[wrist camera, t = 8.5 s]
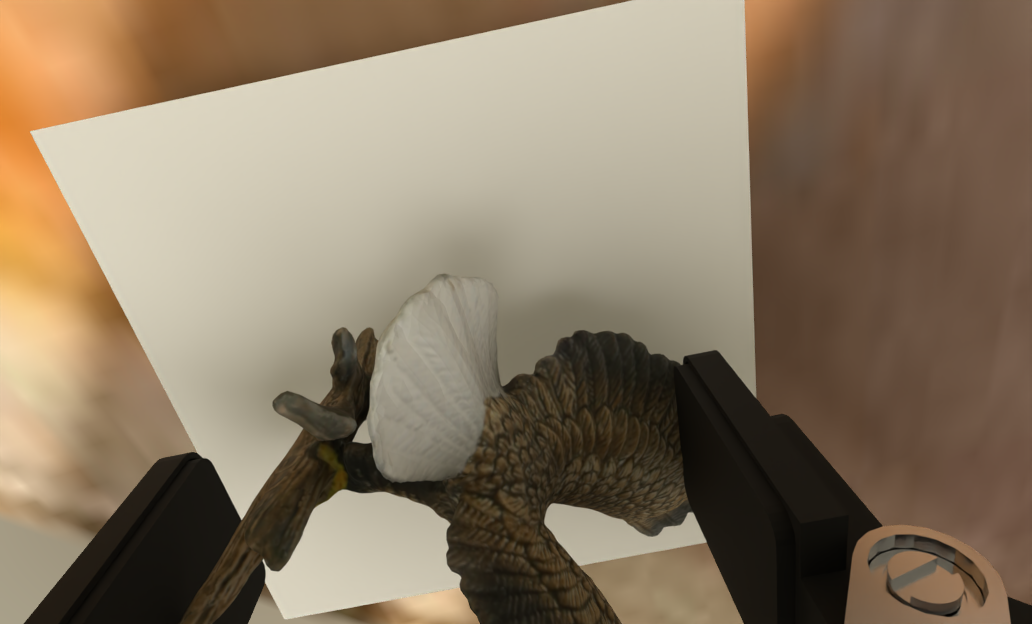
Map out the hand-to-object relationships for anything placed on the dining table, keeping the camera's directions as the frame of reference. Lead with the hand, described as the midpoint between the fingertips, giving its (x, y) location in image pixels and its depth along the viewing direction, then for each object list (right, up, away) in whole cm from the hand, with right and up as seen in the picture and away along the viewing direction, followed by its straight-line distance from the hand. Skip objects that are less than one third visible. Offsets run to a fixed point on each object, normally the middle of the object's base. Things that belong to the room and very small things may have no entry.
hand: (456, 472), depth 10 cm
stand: (0, +4, +8) cm, 9 cm away
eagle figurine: (+1, 0, +2) cm, 3 cm away
